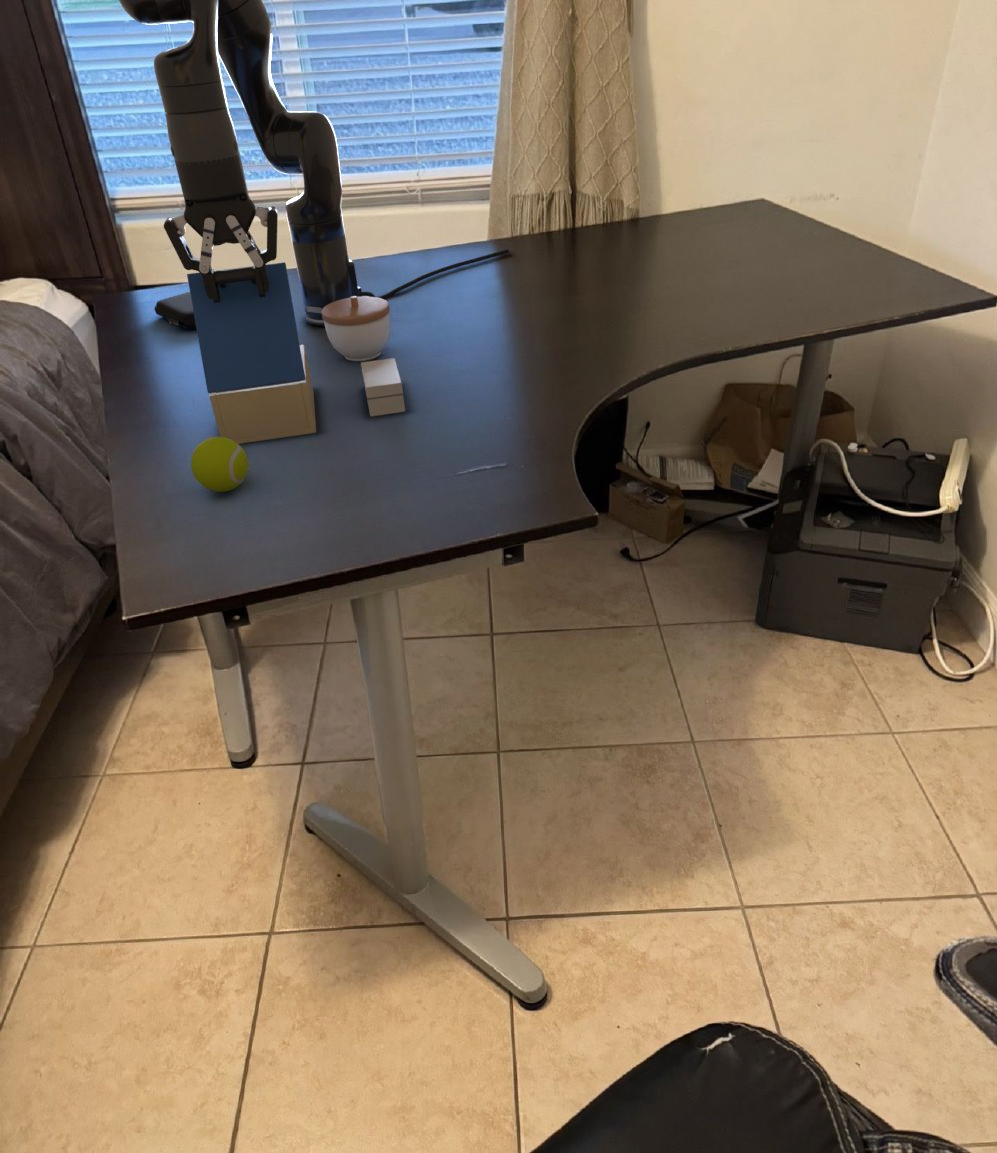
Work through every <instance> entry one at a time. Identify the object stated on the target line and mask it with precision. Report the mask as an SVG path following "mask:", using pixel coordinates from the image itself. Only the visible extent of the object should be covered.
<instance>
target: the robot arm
mask: <svg viewBox="0 0 997 1153" xmlns="http://www.w3.org/2000/svg"><path fill="white" fill-rule="evenodd" d="M119 4H120V5H121V7H122V8H123V9H124V11H125V12H126V13H127V15H129V17H130V18H132V19H133V20H134V21H136V22H138V23H140V24H143V25H149V26H150V25H162V24H178V23H179V24H180V23H188V22H189V23H193V25H192V26H193V31H192V35H191V37H190V39H189V40H188V41H187V42H186V43H184V44H182V45H179V46H176V47H173V48H170V49H167V50H164V51H161V52H160V53H158V54H157V55H156V56H155V57H154V60H153V69H154V74H155V79H156V83H157V85H158V90H159V94H160V97H161V102H162V107H163V110H164V114H165V120H166V121H165V122H166V129H167V135H168V140H169V144H170V153H171V155H172V157H173V160H174V164H175V168H176V172H177V176H178V180H179V185H180V188H181V193H182V196H183V200H184V206H185V207H184V211H183V214H180V215H178V216H174V217H172V216H169V217H167V218H166V219H165V221H164V223H163V229H164V231H165V232H166V235H167V237H168V239H169V241H170V242H171V245H172V247H173V249H174V251H175V253H176V255H177V257H178V259H179V261H180V263H181V265H182V267H183V268H184V269H185V270H186V271H196V272H197V273H201V275H202V278H203V282H204V286H205V290H206V294H207V296H208V297H209V299H211V298H213V300H214V303H218V302H220V300H221V297H220V292H219V288H218V284H216V283H215V280H214V275H213V271H215V269H214V268H213V267H212V259H213V251H214V247H217V246H222V245H225V244H233V245H237V244H240V246H241V247H242V249H243V251H244V252H245V253H246V255H247V256H248V257H249V259H250V261H251V263H252V264H253V266H254V267H253V270H254V275H255V279H256V284H257V288H258V293H259V297H265V292H268V289H269V282H268V277H267V273H266V268H265V265H267V264H269V262H271V261H275V260H276V259H277V257H278V256H277V255H278V221H279V220H278V214H279V211H278V208H277V207H276V206H273V205H271V206H269V207H262V206H256V205H255V204H254V202H253V201H252V199H251V198H250V195H249V190H248V186H247V181H246V176H245V171H244V167H243V162H242V157H241V152H240V147H239V142H238V138H237V134H236V129H235V126H234V121H233V119H232V117H231V114H230V110H229V107H228V101H227V96H226V90H225V87H224V82H223V77H222V73H221V66H220V61H221V62H222V65H223V66H224V69H225V71H226V73H227V75H228V77H229V79H230V81H231V83H232V85H233V87H234V89H235V91H236V93H237V95H238V97H239V99H240V102H241V105H242V106H243V108H244V111H245V113H246V116H247V118H248V121H249V123H250V125H251V128H252V131H253V134H254V135H255V138H256V140H257V143H258V145H259V147H260V150H261V152H262V154H263V156H264V157H265V159H266V161H267V162H268V164H269V166H271V167H272V168H273V169H274V170H275V171H276V172H278V173H279V174H284V175H293V176H302V177H303V192H302V193H301V194H300V195H298V196H295V197H293V198H290V199H289V200H288V201H287V202H286V204H285V214H286V219H287V226H288V229H289V235H290V240H291V245H292V250H293V256H294V260H295V266H296V270H297V271H296V272H297V276H298V280H299V286H300V291H301V296H302V301H303V307H304V313H305V319H306V322H307V323H308V324H309V325H314V326H318V327H325V325H324V320H323V318H322V313H321V312H322V309H323V308H324V307H325V306H327V305H328V304H330V303H332V302H335V301H338V300H342V299H346V298H350V297H351V296H357V297H363V296H365V297H377V298H381V299H384V300H386V299H388V298H391V297H392V296H394V295H395V294H398V293H399V292H400V291H403V290H405V289H406V288H409V287H411V286H413V285H415V284H417V283H419V282H421V281H423V280H425V279H428V278H430V277H433V276H435V275H438V274H441V273H444V272H447V271H450V270H453V269H457V268H460V267H464V266H466V265H471V264H474V263H477V262H481V261H485V260H488V259H491V258H495V257H498V256H502V255H506V254H508V253H509V252H510V250H509V249H508V248H506V249H502V250H499V251H496V252H491V253H488V254H485V255H482V256H481V255H480V256H478V257H474V258H471V259H467V260H463V261H459V262H456V263H454V264H453V263H452V264H450V265H446V266H444V267H440V268H438V269H434V270H433V271H432V270H431V271H429V272H427V273H424V274H422V275H420V276H418V277H415V278H413V279H411V280H410V281H408V282H405V283H403V284H401V285H399V286H397V287H395V288H394V289H392V290H390V291H388V292H386V293H384V294H382V295H378V296H376V295H375V294H374V293H373V292H371V291H362V287H360V286H358V279H357V273H356V266H355V262H354V261H352V260H351V259H350V255H349V254H350V253H349V249H348V242H347V237H346V231H345V224H344V218H343V211H342V200H343V185H342V178H341V177H342V175H341V168H340V159H339V150H338V143H337V137H336V133H335V130H334V127H333V125H332V122H331V121H330V119H329V118H328V117H327V116H326V115H325V114H323V113H321V112H318V111H289V110H288V109H286V107H285V105H284V104H283V102H282V101H281V98H280V97H279V94H278V92H277V90H276V87H275V84H274V82H273V79H272V73H271V61H272V51H273V50H272V48H273V47H272V46H273V30H272V23H271V19H270V17H269V13H268V11H267V9H266V6H265V4H264V2H263V0H119ZM219 59H220V60H219ZM255 217H257V218H259V221H260V224H261V226H262V227H263V228H266V248H265V249H264V250H262V251H261V250H260V248H259V246H258V245H257V243H256V241H255V239H254V237H253V235H252V233H251V232H250V228H251V226H252V224H253V221H254V219H255ZM186 224H188V226H190V227H191V228H192V229H193V230H194V231H195V232H196V233H197V234H198V235H199V237H201V238H202V240H201V247H200V258H199V257H195V256H194V254H193V252H192V251H191V248H190V246H189V245H188V243H187V241H186V239H185V234H186V232H187V228H186Z"/></svg>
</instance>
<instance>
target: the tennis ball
mask: <svg viewBox="0 0 997 1153" xmlns="http://www.w3.org/2000/svg"><path fill="white" fill-rule="evenodd" d="M190 458H191V459H190V467H191V471H192V475H193V476H194V478H195V480H196V481H197V483H198V484H200V485H201V486H202V487H204V488H205V489H207V490H209V491H211V492H212V491H213V492H217V493H224V492H225V493H226V492H230V491H232V490H234V489H236V488H238V487H239V486H240V485H241V484H242V483H243V482H244V481H245V478H246V476H247V475H248V473H249V472H248V471H249V459H248V456H247V454H246V452H245V450H244V448H243V447H242V446H241V445H240V444H237V443H236V442H235V441H233V440H231V439H228V438H225V437H220V436H212V437H209V438H206V439H204V440H202V441H201V442H200V443H199V444H197V446H196V447H195V449H194V450H193V452H192V455H191V457H190Z"/></svg>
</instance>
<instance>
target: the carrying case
mask: <svg viewBox="0 0 997 1153" xmlns="http://www.w3.org/2000/svg"><path fill="white" fill-rule="evenodd" d="M154 312H155V314H156V315H157V316H160V317H162V318H164V319H166V320H167V321H168V323H169V325H171V326H177V327H182V328H184V329H187V330H197V329H196V323H195V317H194V312H193V306H192V300H191V295H190V291H188V292H184V293H180V294H177V295H174V296H173V295H172V296H170V297H166V298H163V299H160V300H158V301H157V302H156V304H155V306H154Z"/></svg>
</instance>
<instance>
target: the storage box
mask: <svg viewBox="0 0 997 1153" xmlns="http://www.w3.org/2000/svg"><path fill="white" fill-rule="evenodd" d="M300 350H301V356H302V361H303V367H304V373H305V379H306V380H304V381H297V382H289V383H282V384H274V385H267V386H260V387H252V388H245V389H238V390H230V391H223V392H216V393H209V395H208V396H209V401H210V404H211V408H212V411H213V416H214V418H215V422H216V426H217V429H218V433H219V437H225V438H228V439H231V440H233V441H235V442H236V443H237V444H238V445H240V444H249V443H254V442H261V441H268V440H269V441H270V440H276V439H282V438H288V437H289V438H290V437H297V436H302V435H310V434H316V433H317V424H316V423H317V421H316V409H315V408H316V407H315V394H314V393H315V392H314V387H313V382H312V376H311V371H310V367H309V362H308V356H307V351H306V347H305V344H300Z"/></svg>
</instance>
